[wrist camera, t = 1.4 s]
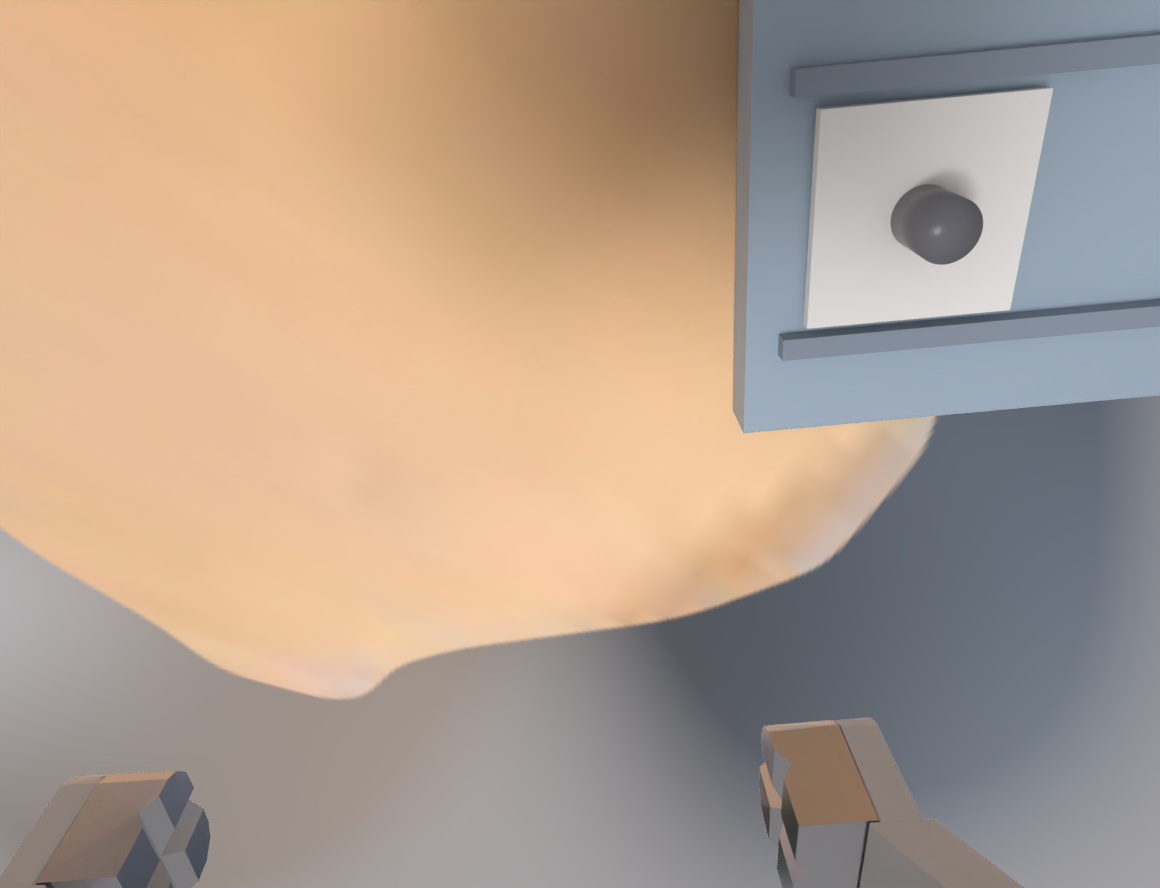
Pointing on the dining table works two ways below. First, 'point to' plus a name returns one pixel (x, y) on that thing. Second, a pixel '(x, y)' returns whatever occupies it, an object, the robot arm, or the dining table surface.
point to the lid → (921, 205)
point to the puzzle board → (1054, 228)
